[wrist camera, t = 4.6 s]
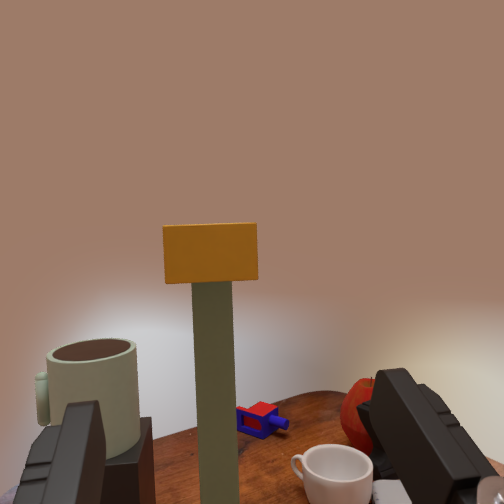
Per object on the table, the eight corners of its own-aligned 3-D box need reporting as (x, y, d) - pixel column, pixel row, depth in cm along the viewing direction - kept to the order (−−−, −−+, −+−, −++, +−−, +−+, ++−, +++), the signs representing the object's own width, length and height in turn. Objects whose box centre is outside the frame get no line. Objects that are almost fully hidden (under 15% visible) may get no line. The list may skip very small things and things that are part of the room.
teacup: (384, 503, 48) (383, 457, 48) (355, 543, 43) (354, 492, 42) (308, 473, 55) (307, 432, 54) (274, 504, 49) (272, 459, 48)
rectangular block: (165, 284, 18) (162, 225, 18) (186, 254, 36) (185, 225, 36) (258, 280, 18) (256, 222, 18) (233, 253, 36) (232, 223, 36)
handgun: (369, 407, 51) (381, 493, 50) (452, 384, 56) (464, 462, 55) (354, 402, 54) (365, 483, 53) (435, 380, 59) (446, 454, 58)
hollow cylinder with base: (28, 605, 37) (11, 368, 36) (63, 531, 46) (51, 339, 44) (144, 592, 38) (132, 360, 37) (156, 522, 47) (147, 334, 45)
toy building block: (252, 419, 70) (293, 433, 66) (236, 430, 67) (278, 445, 62) (251, 398, 70) (293, 410, 65) (235, 408, 67) (278, 421, 62)
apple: (330, 452, 59) (328, 377, 59) (361, 431, 65) (360, 362, 64) (384, 476, 54) (383, 393, 53) (413, 450, 59) (412, 375, 59)
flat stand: (190, 721, 28) (169, 266, 26) (195, 572, 40) (182, 253, 38) (265, 709, 28) (251, 263, 26) (248, 566, 40) (238, 251, 38)
